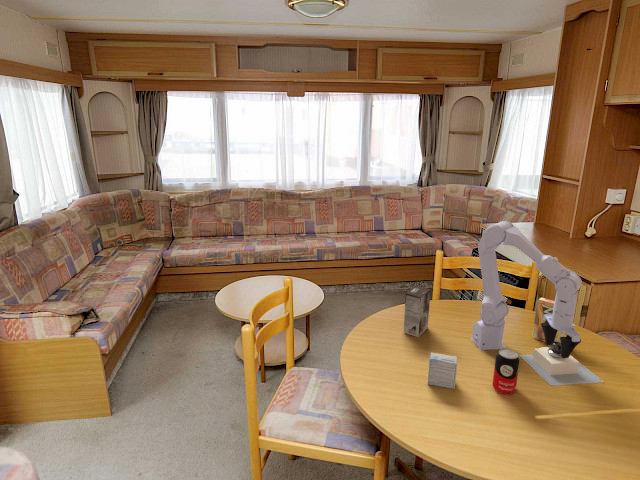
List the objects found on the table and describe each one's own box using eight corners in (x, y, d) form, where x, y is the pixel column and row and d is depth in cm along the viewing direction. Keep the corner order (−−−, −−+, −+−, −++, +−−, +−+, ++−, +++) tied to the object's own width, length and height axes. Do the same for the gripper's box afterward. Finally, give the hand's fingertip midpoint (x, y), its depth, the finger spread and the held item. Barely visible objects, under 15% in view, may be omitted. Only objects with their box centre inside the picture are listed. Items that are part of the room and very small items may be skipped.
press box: (549, 375, 128) (551, 363, 126) (529, 356, 138) (531, 346, 137) (577, 373, 128) (579, 362, 127) (555, 355, 139) (556, 344, 138)
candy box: (561, 343, 147) (568, 304, 143) (557, 348, 144) (564, 307, 140) (535, 335, 153) (541, 296, 149) (531, 339, 150) (537, 300, 146)
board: (550, 387, 123) (551, 385, 122) (518, 356, 139) (518, 355, 139) (603, 383, 124) (604, 382, 124) (565, 353, 141) (566, 352, 140)
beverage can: (487, 386, 123) (491, 350, 120) (503, 381, 126) (507, 345, 122) (503, 398, 118) (509, 361, 114) (520, 393, 120) (525, 356, 117)
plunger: (552, 370, 130) (555, 348, 128) (542, 361, 134) (545, 340, 132) (566, 369, 130) (570, 347, 128) (556, 360, 135) (560, 339, 133)
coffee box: (412, 323, 162) (415, 285, 158) (428, 328, 158) (431, 288, 154) (402, 332, 155) (404, 292, 151) (418, 337, 151) (421, 296, 147)
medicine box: (455, 381, 126) (457, 356, 123) (454, 390, 122) (457, 364, 119) (428, 376, 128) (430, 351, 126) (427, 384, 124) (429, 359, 122)
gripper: (593, 321, 121) (585, 362, 124) (560, 301, 134) (554, 338, 138) (570, 322, 120) (563, 364, 124) (539, 302, 134) (534, 339, 137)
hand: (556, 350), depth 131 cm, fingers open, 7 cm apart
